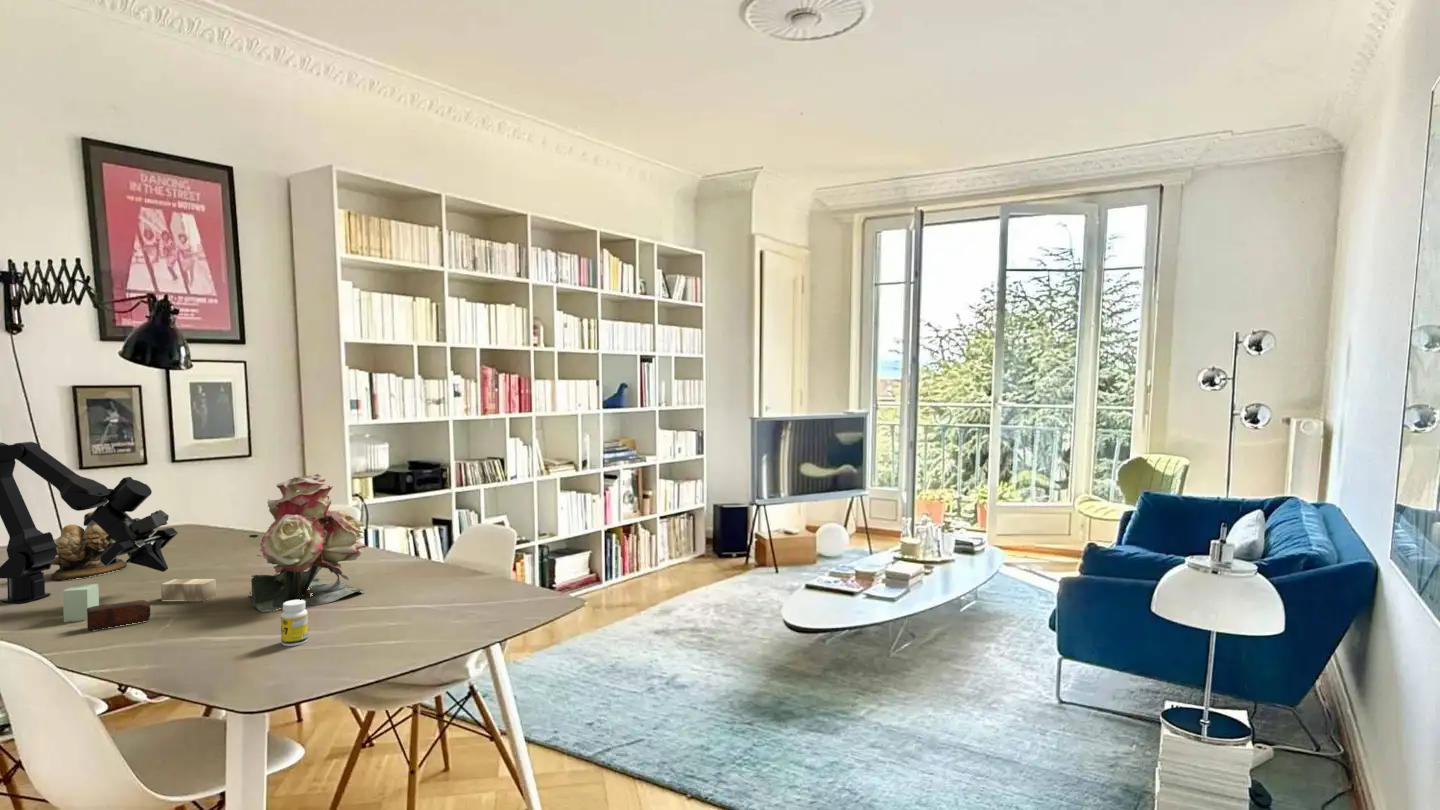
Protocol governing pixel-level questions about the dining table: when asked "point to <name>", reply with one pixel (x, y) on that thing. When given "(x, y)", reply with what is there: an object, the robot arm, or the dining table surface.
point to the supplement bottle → (294, 623)
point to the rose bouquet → (305, 546)
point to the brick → (117, 614)
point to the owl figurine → (82, 553)
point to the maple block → (189, 589)
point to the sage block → (79, 601)
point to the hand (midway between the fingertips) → (165, 570)
